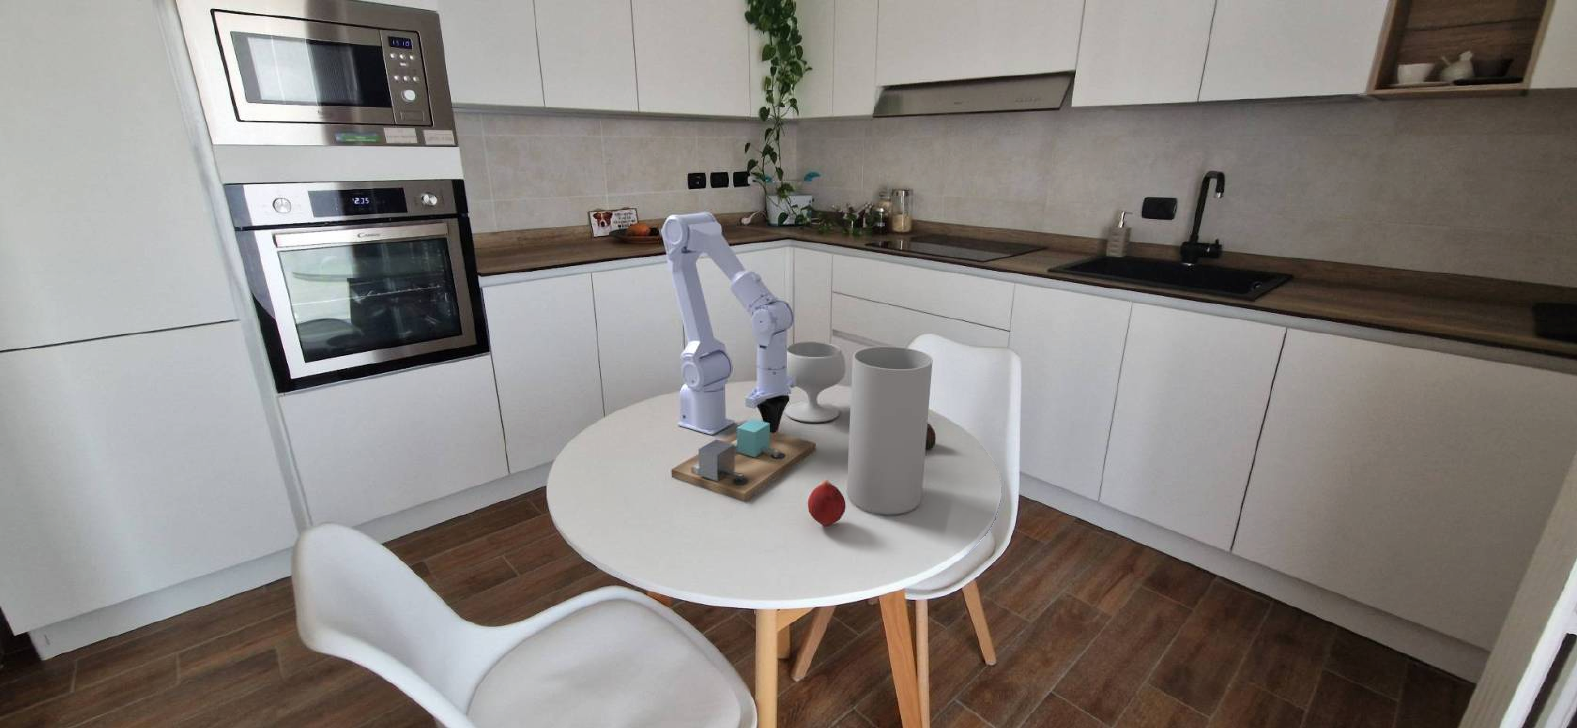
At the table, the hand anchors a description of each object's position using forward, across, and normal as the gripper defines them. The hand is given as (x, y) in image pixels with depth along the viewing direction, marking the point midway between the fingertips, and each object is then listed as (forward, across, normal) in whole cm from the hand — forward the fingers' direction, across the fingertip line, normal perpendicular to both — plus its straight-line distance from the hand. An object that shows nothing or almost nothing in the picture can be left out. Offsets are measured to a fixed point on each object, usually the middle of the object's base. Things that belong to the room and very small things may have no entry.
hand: (771, 430), depth 131 cm
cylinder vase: (+4, -6, -27) cm, 28 cm away
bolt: (+4, +12, -21) cm, 25 cm away
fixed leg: (+2, -17, -2) cm, 18 cm away
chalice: (+4, +20, +2) cm, 20 cm away
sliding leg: (+2, -6, -2) cm, 7 cm away
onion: (+4, -19, -23) cm, 30 cm away
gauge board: (+3, -8, 0) cm, 9 cm away
